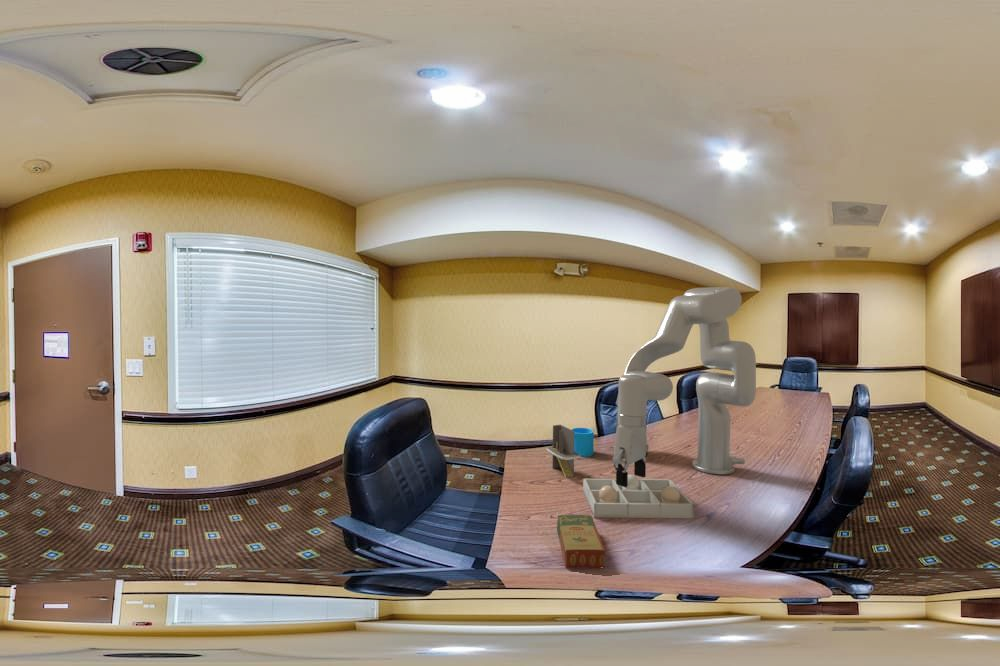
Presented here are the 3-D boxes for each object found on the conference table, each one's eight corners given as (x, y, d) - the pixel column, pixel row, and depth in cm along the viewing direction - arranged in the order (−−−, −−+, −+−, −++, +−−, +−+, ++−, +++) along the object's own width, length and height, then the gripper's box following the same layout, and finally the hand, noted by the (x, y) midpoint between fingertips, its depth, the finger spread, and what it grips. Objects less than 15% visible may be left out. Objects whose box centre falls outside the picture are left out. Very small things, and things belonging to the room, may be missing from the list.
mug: (582, 448, 171) (582, 426, 170) (598, 453, 164) (598, 431, 164) (558, 453, 164) (558, 431, 164) (573, 460, 158) (573, 436, 157)
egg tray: (669, 491, 131) (669, 479, 131) (693, 518, 114) (694, 504, 114) (582, 490, 131) (583, 478, 131) (594, 517, 114) (594, 503, 114)
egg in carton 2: (675, 504, 121) (676, 483, 120) (682, 512, 116) (682, 490, 116) (658, 504, 121) (658, 483, 121) (664, 512, 116) (664, 490, 116)
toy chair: (553, 493, 130) (554, 442, 129) (517, 464, 153) (518, 422, 152) (611, 483, 138) (612, 435, 137) (568, 457, 161) (569, 416, 160)
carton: (564, 569, 92) (564, 549, 92) (556, 530, 108) (556, 513, 108) (605, 569, 92) (605, 549, 92) (591, 531, 108) (591, 513, 108)
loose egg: (636, 491, 129) (636, 472, 129) (641, 498, 124) (641, 478, 124) (619, 491, 129) (620, 471, 129) (624, 498, 124) (624, 477, 124)
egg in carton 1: (613, 503, 121) (614, 482, 121) (619, 511, 117) (620, 489, 116) (596, 503, 121) (597, 482, 121) (601, 511, 116) (602, 489, 116)
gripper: (635, 412, 134) (634, 469, 135) (602, 423, 122) (602, 485, 123) (659, 417, 129) (658, 476, 130) (628, 428, 117) (626, 493, 118)
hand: (631, 480), depth 127 cm, fingers open, 9 cm apart
